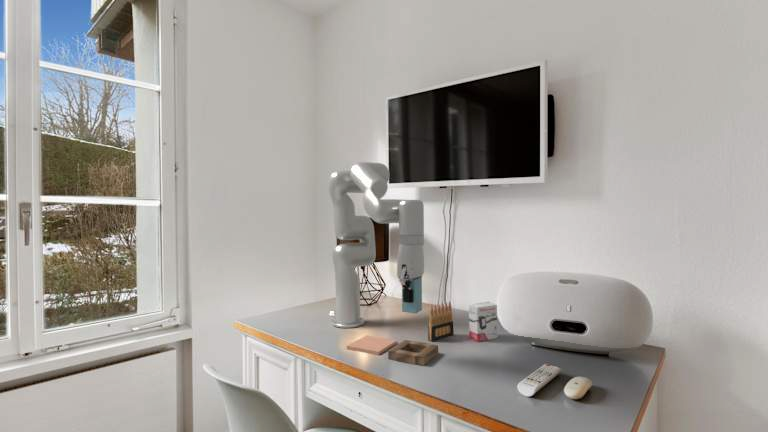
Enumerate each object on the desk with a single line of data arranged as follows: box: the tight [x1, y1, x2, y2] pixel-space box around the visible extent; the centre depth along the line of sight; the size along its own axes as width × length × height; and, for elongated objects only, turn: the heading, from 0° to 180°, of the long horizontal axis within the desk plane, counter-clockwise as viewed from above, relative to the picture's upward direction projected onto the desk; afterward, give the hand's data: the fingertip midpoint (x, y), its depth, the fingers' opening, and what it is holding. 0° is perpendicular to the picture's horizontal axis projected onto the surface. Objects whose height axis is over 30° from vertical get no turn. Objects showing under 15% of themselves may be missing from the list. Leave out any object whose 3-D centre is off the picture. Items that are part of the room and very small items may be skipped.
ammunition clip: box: [427, 301, 455, 342], centre depth 138 cm, size 11×2×12 cm, turn 127°
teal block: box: [401, 276, 423, 315], centre depth 121 cm, size 4×4×10 cm
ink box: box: [468, 301, 498, 343], centre depth 137 cm, size 8×5×12 cm, turn 115°
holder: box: [387, 339, 439, 367], centre depth 121 cm, size 12×12×2 cm
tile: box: [346, 335, 398, 356], centre depth 131 cm, size 12×12×1 cm
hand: (412, 299), depth 121 cm, fingers closed on teal block, 4 cm apart
